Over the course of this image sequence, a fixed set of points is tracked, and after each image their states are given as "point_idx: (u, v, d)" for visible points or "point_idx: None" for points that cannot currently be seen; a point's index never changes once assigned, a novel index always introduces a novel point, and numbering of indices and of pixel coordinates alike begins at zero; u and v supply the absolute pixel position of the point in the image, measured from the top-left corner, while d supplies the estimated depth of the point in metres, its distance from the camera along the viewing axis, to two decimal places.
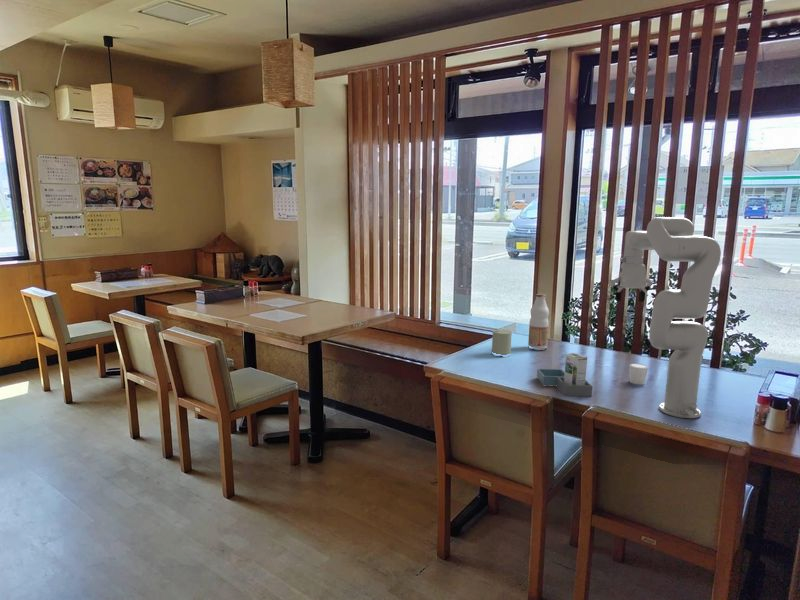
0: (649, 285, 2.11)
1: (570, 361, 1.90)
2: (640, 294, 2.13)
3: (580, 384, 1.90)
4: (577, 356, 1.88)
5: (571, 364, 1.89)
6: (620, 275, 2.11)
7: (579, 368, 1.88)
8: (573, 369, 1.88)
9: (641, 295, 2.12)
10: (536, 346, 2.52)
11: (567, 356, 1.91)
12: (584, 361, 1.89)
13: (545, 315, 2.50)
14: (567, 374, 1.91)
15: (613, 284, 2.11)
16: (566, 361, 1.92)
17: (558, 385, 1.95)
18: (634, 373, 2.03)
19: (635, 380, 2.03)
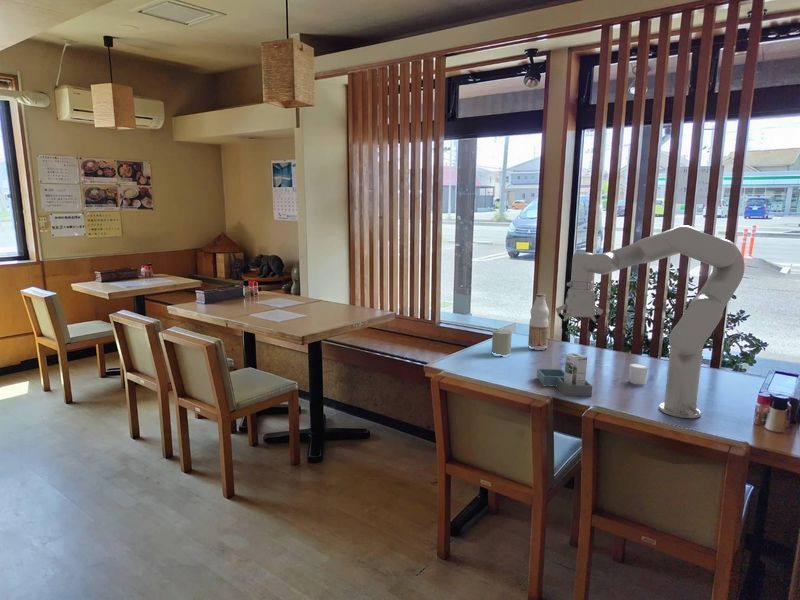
0: (599, 313, 1.87)
1: (570, 361, 1.90)
2: (589, 323, 1.89)
3: (580, 384, 1.90)
4: (577, 356, 1.88)
5: (571, 364, 1.89)
6: (566, 302, 1.87)
7: (579, 368, 1.88)
8: (573, 369, 1.88)
9: (590, 324, 1.88)
10: (536, 346, 2.52)
11: (567, 356, 1.91)
12: (584, 361, 1.89)
13: (545, 315, 2.50)
14: (567, 374, 1.91)
15: (559, 312, 1.87)
16: (566, 361, 1.92)
17: (558, 385, 1.95)
18: (634, 373, 2.03)
19: (635, 380, 2.03)
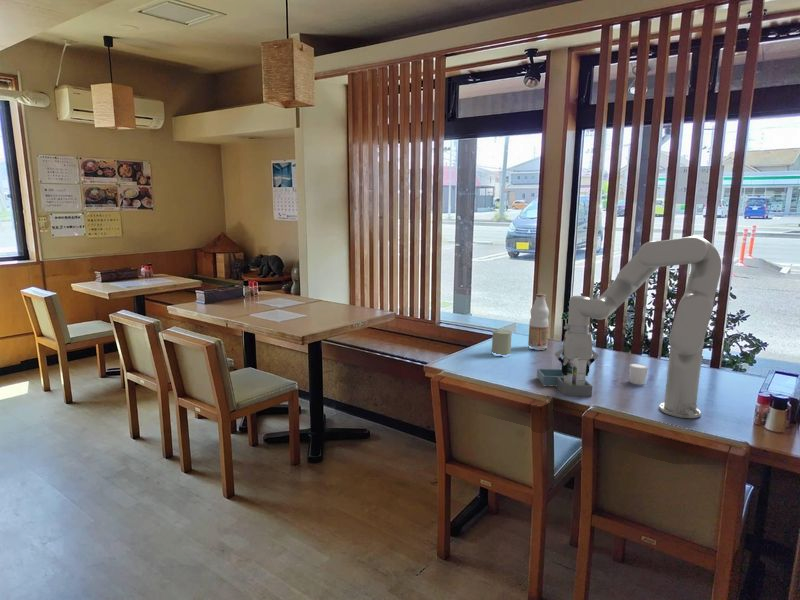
0: (594, 357, 1.90)
1: (570, 361, 1.90)
2: None
3: (580, 384, 1.90)
4: None
5: (571, 364, 1.89)
6: (564, 345, 1.89)
7: (579, 368, 1.88)
8: (573, 369, 1.88)
9: None
10: (536, 346, 2.52)
11: None
12: (584, 361, 1.89)
13: (545, 315, 2.50)
14: (567, 374, 1.91)
15: (558, 356, 1.90)
16: None
17: (558, 385, 1.95)
18: (634, 373, 2.03)
19: (635, 380, 2.03)
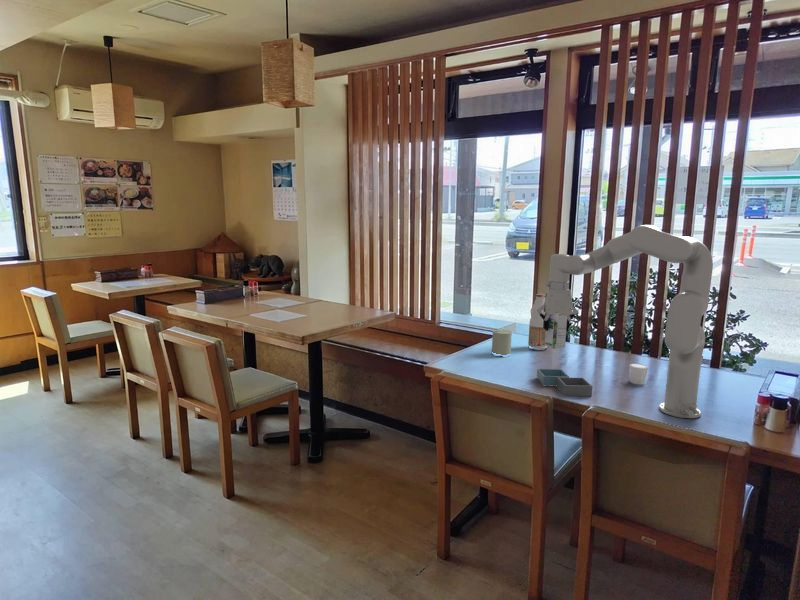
0: (574, 313, 1.98)
1: (551, 317, 1.98)
2: None
3: (561, 339, 1.98)
4: None
5: (552, 319, 1.97)
6: (545, 301, 1.98)
7: (559, 323, 1.97)
8: (554, 324, 1.97)
9: None
10: (536, 346, 2.52)
11: None
12: (564, 316, 1.97)
13: None
14: (548, 330, 2.00)
15: (539, 312, 1.98)
16: None
17: (558, 385, 1.95)
18: (634, 373, 2.03)
19: (635, 380, 2.03)
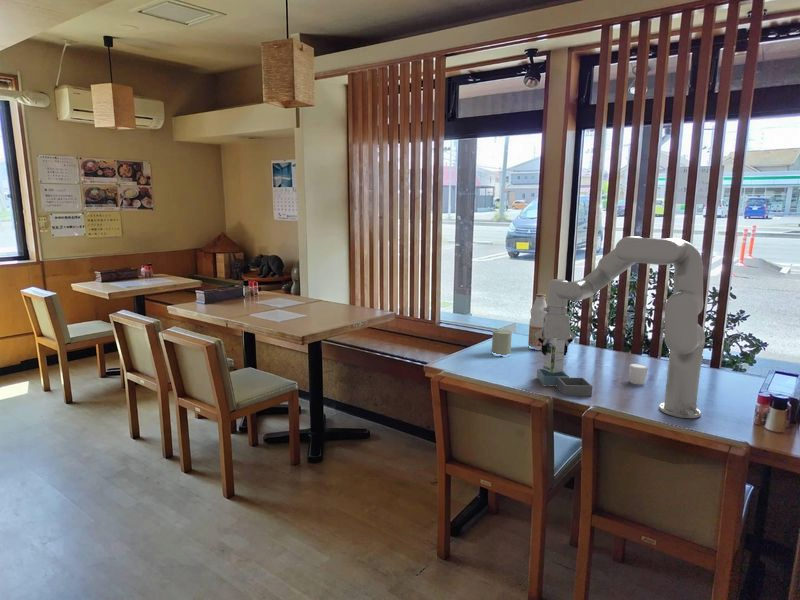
0: (572, 338, 2.00)
1: (549, 341, 2.00)
2: None
3: (558, 363, 2.00)
4: None
5: (550, 344, 1.99)
6: (543, 326, 1.99)
7: (557, 348, 1.98)
8: (552, 348, 1.98)
9: None
10: (536, 346, 2.52)
11: None
12: (562, 341, 1.99)
13: None
14: (546, 354, 2.01)
15: (538, 337, 2.00)
16: None
17: (558, 385, 1.95)
18: (634, 373, 2.03)
19: (635, 380, 2.03)
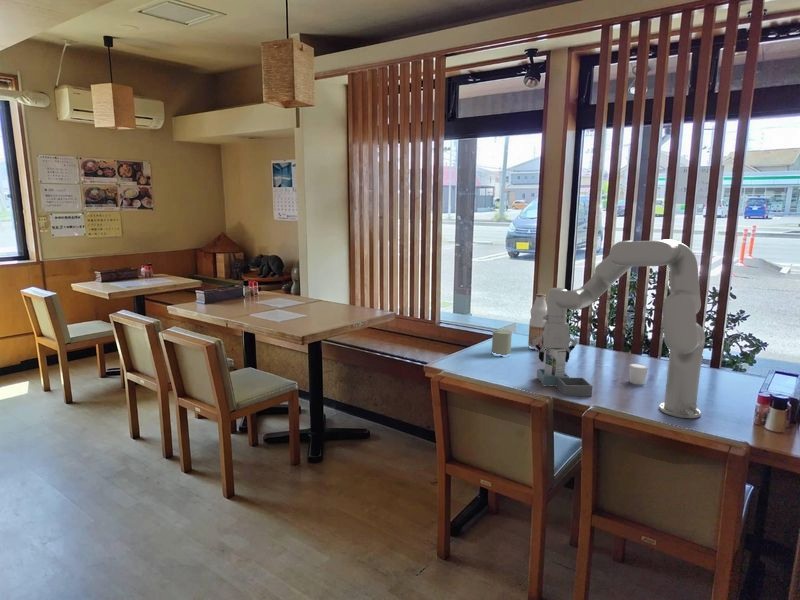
0: (573, 344, 2.00)
1: (550, 354, 2.00)
2: None
3: (559, 375, 2.00)
4: (556, 348, 1.99)
5: (551, 356, 2.00)
6: (543, 334, 2.00)
7: (558, 360, 1.99)
8: (553, 361, 1.99)
9: None
10: None
11: (547, 348, 2.02)
12: (563, 353, 1.99)
13: (545, 315, 2.50)
14: (547, 366, 2.02)
15: (536, 343, 2.01)
16: (546, 353, 2.02)
17: (558, 385, 1.95)
18: (634, 373, 2.03)
19: (635, 380, 2.03)
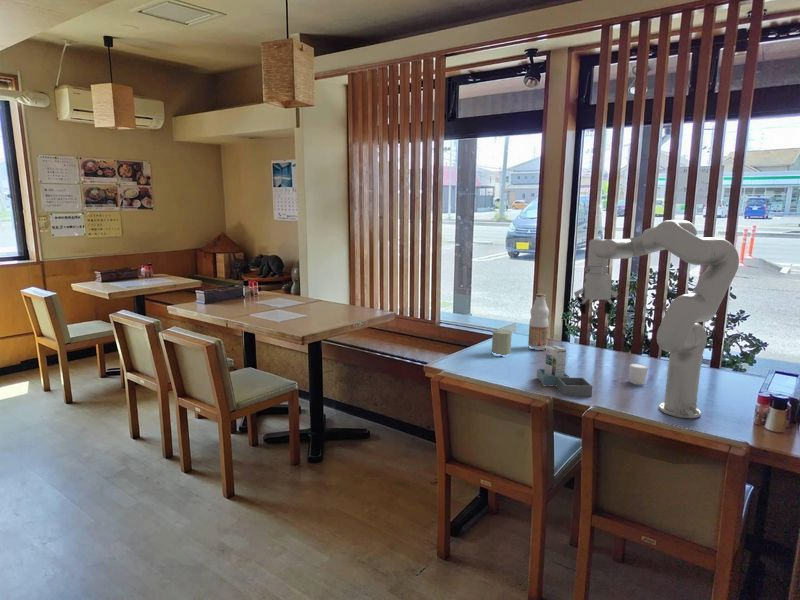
0: (615, 296, 2.00)
1: (550, 354, 2.00)
2: (606, 305, 2.02)
3: (559, 375, 2.00)
4: (556, 348, 1.99)
5: (551, 356, 2.00)
6: (584, 286, 1.99)
7: (558, 360, 1.99)
8: (553, 361, 1.99)
9: (607, 306, 2.01)
10: (536, 346, 2.52)
11: (547, 348, 2.02)
12: (563, 353, 1.99)
13: (545, 315, 2.50)
14: (547, 366, 2.02)
15: (577, 295, 2.00)
16: (546, 353, 2.02)
17: (558, 385, 1.95)
18: (634, 373, 2.03)
19: (635, 380, 2.03)
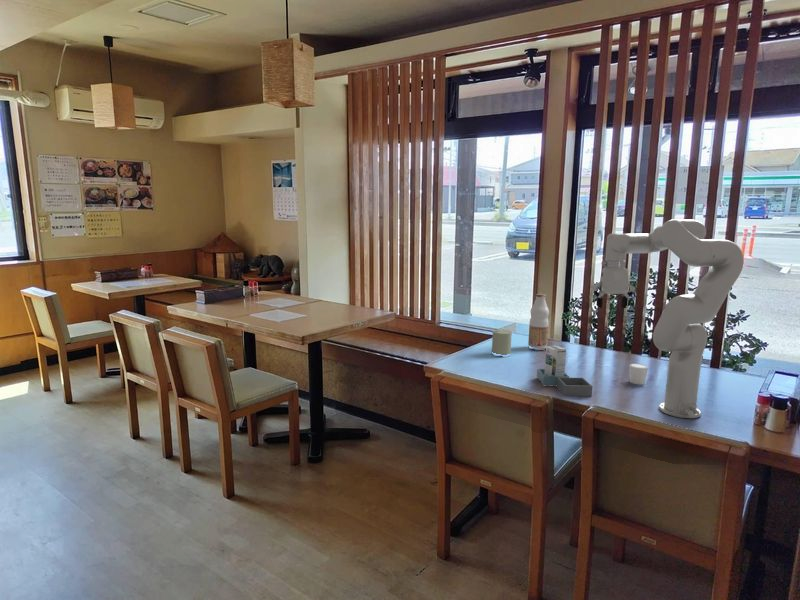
0: (632, 290, 2.01)
1: (550, 354, 2.00)
2: (622, 300, 2.02)
3: (559, 375, 2.00)
4: (556, 348, 1.99)
5: (551, 356, 2.00)
6: (601, 280, 2.00)
7: (558, 360, 1.99)
8: (553, 361, 1.99)
9: (623, 301, 2.01)
10: (536, 346, 2.52)
11: (547, 348, 2.02)
12: (563, 353, 1.99)
13: (545, 315, 2.50)
14: (547, 366, 2.02)
15: (594, 289, 2.01)
16: (546, 353, 2.02)
17: (558, 385, 1.95)
18: (634, 373, 2.03)
19: (635, 380, 2.03)
